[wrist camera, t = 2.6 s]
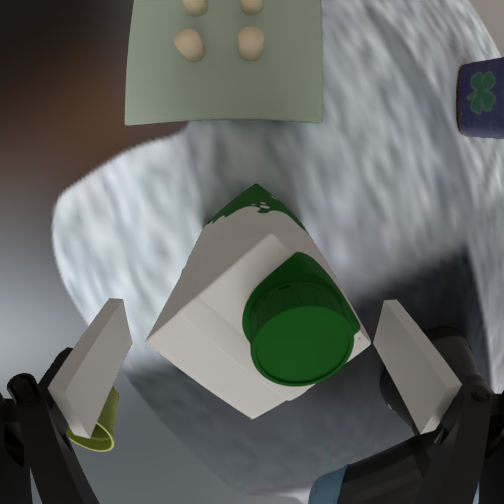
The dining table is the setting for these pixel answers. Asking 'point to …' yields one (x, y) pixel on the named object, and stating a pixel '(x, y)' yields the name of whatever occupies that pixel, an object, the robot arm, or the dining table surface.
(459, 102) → the flask
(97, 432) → the plant pot
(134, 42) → the peg stand
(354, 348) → the soya milk
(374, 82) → the dining table surface
